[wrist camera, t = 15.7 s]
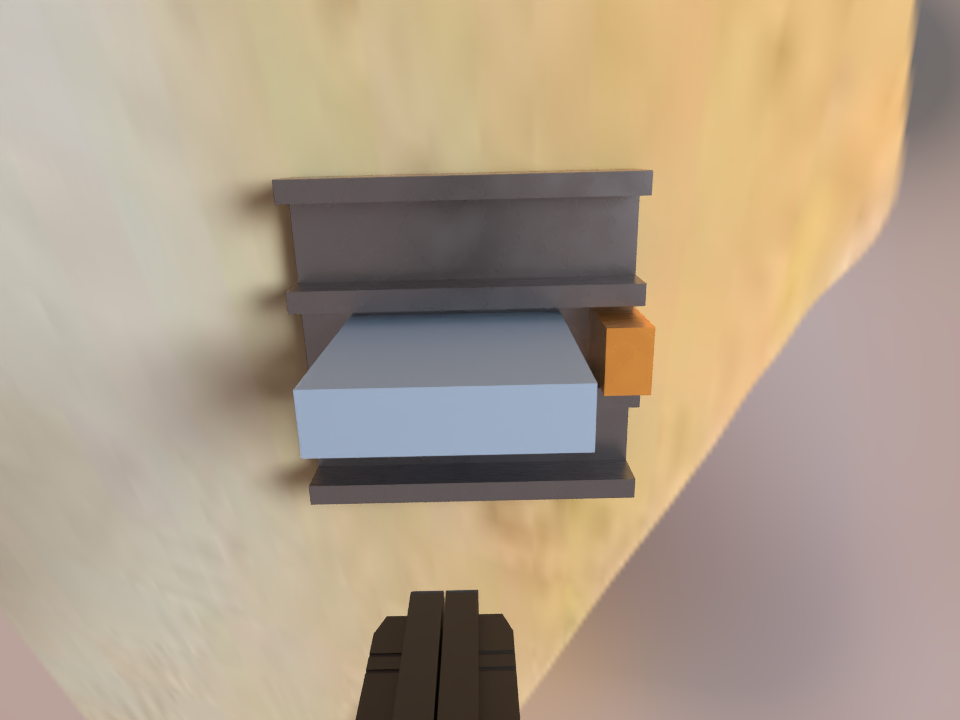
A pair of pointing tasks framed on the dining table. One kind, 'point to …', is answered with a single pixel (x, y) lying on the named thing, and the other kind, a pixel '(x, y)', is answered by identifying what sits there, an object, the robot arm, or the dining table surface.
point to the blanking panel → (448, 388)
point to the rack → (480, 304)
